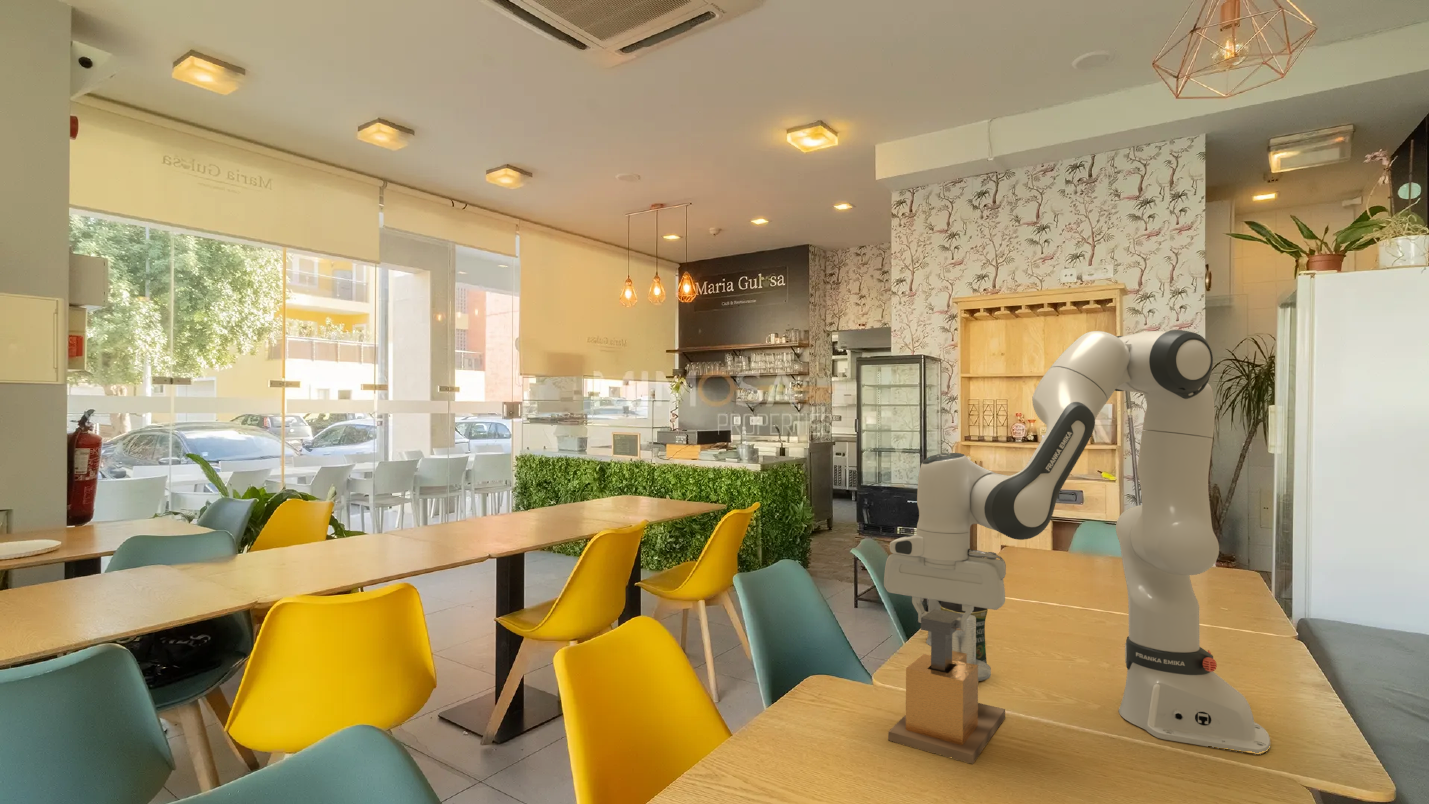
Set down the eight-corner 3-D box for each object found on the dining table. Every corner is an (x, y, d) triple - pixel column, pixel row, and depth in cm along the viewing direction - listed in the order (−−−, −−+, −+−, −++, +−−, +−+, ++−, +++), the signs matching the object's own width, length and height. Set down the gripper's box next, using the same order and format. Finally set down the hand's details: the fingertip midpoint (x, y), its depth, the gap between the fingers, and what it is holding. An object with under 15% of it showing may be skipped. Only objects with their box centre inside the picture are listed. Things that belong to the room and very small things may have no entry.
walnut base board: (930, 699, 138) (930, 691, 138) (1005, 717, 130) (1005, 709, 130) (888, 740, 120) (888, 731, 120) (972, 764, 112) (972, 754, 112)
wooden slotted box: (943, 690, 138) (943, 606, 139) (996, 703, 133) (996, 615, 133) (904, 729, 121) (905, 633, 121) (964, 745, 115) (964, 644, 115)
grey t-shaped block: (933, 673, 126) (934, 609, 126) (962, 679, 123) (962, 613, 123) (920, 685, 120) (921, 617, 120) (949, 692, 117) (950, 623, 118)
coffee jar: (961, 687, 144) (962, 596, 144) (933, 675, 151) (933, 588, 151) (994, 680, 148) (994, 591, 149) (965, 668, 155) (965, 583, 156)
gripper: (1010, 551, 119) (1009, 633, 119) (893, 537, 131) (893, 612, 130) (1001, 556, 114) (1000, 642, 113) (880, 542, 125) (880, 619, 125)
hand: (942, 626), depth 122 cm, fingers closed on grey t-shaped block, 5 cm apart
